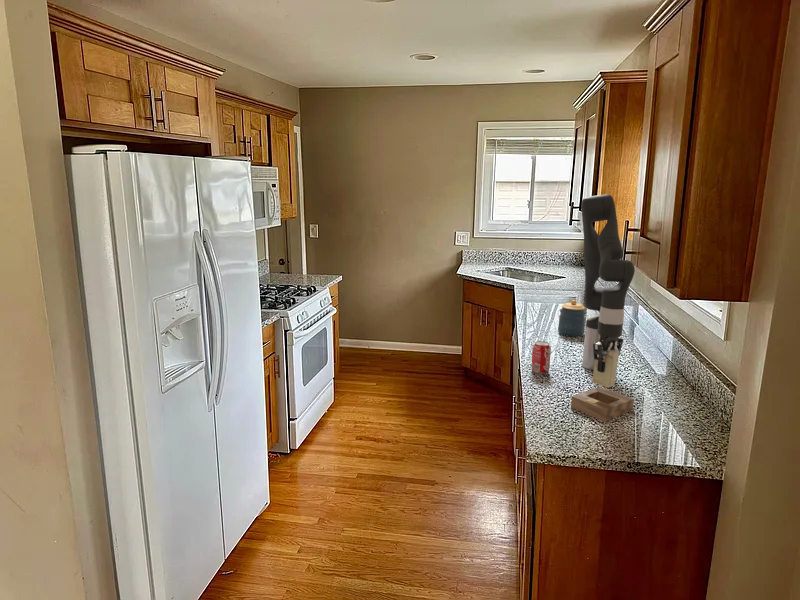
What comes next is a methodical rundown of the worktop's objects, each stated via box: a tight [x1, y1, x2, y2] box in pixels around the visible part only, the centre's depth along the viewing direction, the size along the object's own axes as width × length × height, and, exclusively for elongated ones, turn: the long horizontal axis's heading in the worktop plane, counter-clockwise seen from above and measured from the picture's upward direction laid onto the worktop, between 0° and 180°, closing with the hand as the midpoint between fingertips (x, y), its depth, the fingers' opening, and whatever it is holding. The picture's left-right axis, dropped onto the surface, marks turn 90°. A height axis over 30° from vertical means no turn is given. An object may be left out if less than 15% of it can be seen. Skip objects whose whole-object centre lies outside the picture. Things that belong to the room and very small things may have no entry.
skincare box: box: [591, 349, 620, 388], centre depth 178 cm, size 6×4×12 cm
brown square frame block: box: [570, 386, 635, 422], centre depth 180 cm, size 16×13×4 cm
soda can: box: [531, 340, 552, 375], centre depth 214 cm, size 7×7×12 cm
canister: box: [557, 299, 587, 337], centre depth 270 cm, size 13×13×18 cm
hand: (605, 370), depth 178 cm, fingers closed on skincare box, 4 cm apart
